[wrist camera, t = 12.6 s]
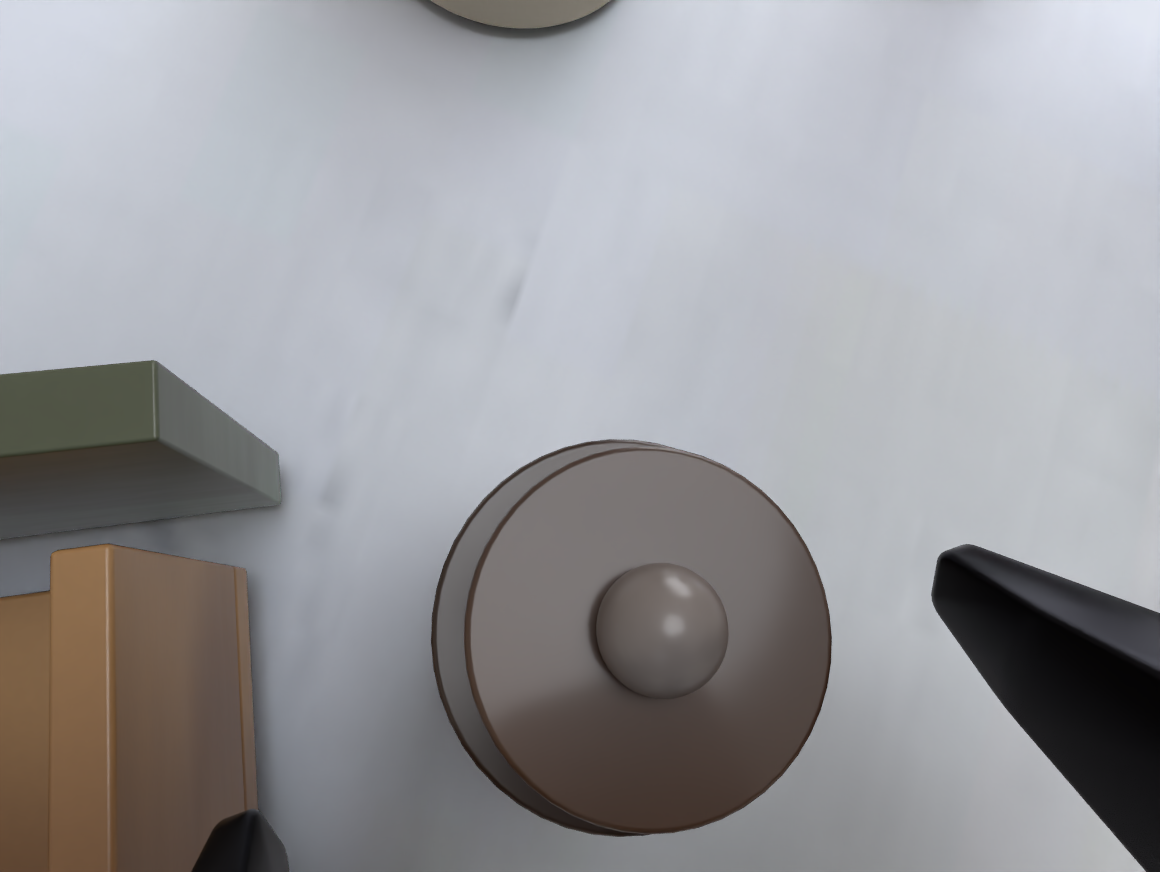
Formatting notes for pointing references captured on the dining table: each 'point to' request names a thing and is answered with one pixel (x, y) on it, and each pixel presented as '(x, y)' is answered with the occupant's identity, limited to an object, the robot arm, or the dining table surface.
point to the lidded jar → (630, 639)
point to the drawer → (123, 624)
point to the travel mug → (521, 11)
